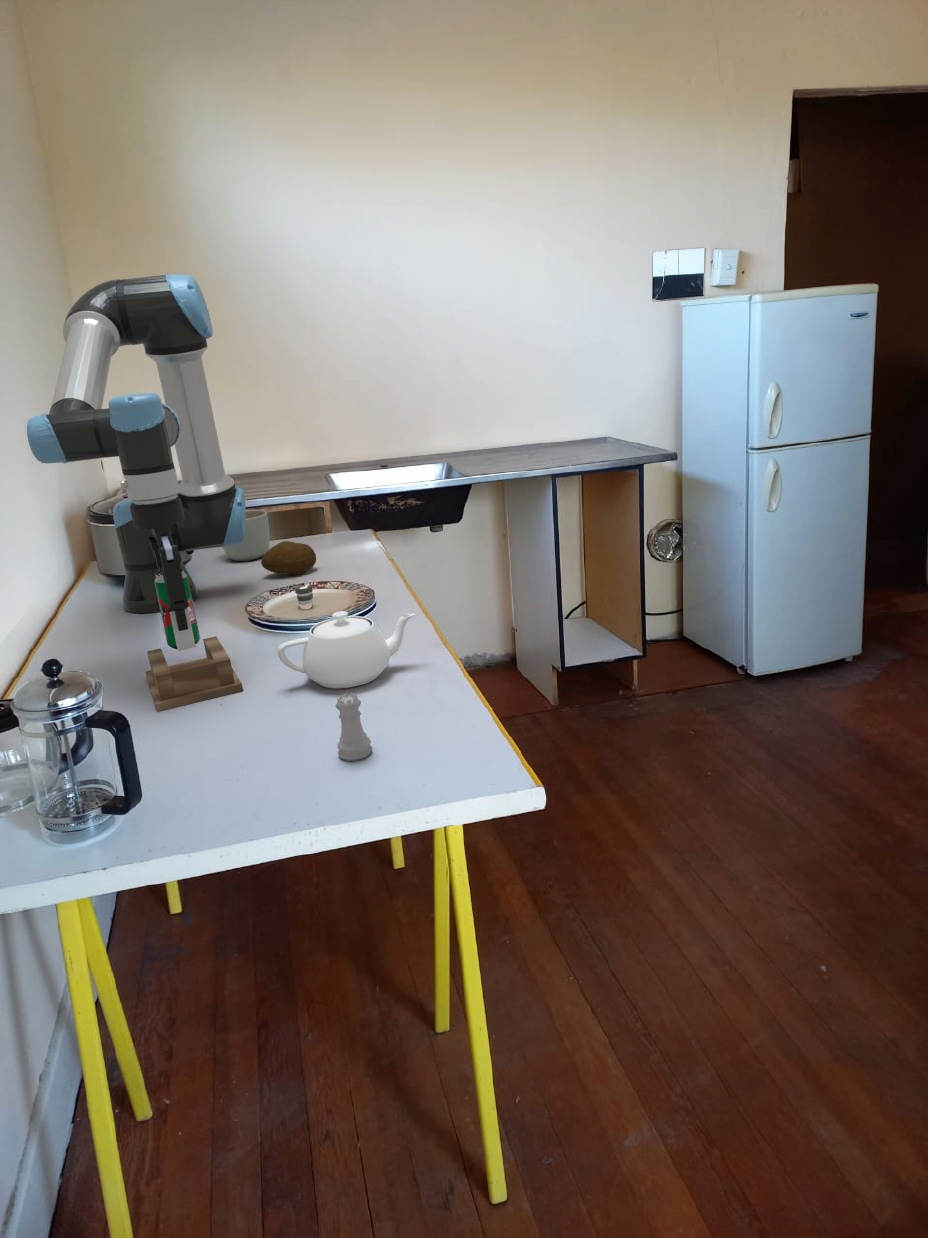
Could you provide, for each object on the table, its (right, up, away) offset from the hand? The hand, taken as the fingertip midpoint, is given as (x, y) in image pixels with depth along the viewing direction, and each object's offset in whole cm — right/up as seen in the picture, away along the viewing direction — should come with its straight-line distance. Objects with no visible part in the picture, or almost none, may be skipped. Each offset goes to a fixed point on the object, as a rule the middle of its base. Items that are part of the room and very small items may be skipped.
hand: (184, 642), depth 142 cm
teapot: (+27, -5, -1) cm, 28 cm away
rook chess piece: (+31, -14, -27) cm, 43 cm away
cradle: (+1, -7, +1) cm, 7 cm away
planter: (-9, +19, +81) cm, 83 cm away
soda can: (0, 0, 0) cm, 0 cm away
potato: (+5, +14, +61) cm, 63 cm away
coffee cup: (+13, +5, +36) cm, 39 cm away
